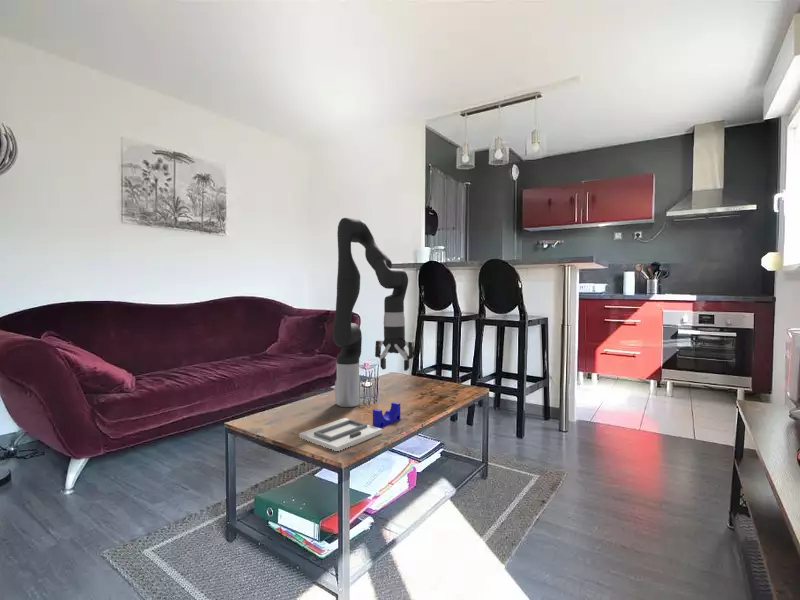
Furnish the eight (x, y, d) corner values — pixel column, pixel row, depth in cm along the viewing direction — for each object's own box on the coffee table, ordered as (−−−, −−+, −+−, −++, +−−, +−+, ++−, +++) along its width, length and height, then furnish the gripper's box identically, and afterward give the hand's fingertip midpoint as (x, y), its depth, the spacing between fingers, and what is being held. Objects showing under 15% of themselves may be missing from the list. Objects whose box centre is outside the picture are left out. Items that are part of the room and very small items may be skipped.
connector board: (299, 437, 136) (299, 430, 136) (344, 421, 151) (344, 415, 151) (337, 452, 124) (337, 443, 124) (382, 433, 140) (382, 425, 140)
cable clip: (390, 417, 157) (390, 401, 157) (400, 419, 154) (400, 403, 154) (369, 425, 147) (369, 409, 147) (379, 428, 145) (379, 411, 145)
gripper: (416, 324, 152) (416, 368, 153) (380, 323, 157) (380, 366, 158) (409, 326, 145) (410, 372, 146) (371, 325, 150) (372, 370, 151)
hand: (394, 369), depth 152 cm, fingers open, 8 cm apart
